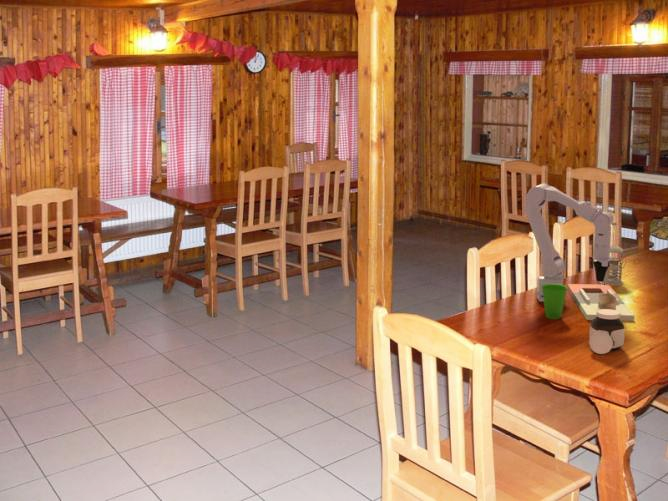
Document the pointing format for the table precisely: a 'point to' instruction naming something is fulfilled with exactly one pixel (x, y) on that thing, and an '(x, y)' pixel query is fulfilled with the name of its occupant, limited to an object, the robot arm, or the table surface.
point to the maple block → (607, 301)
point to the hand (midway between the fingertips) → (599, 281)
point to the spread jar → (606, 331)
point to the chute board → (596, 300)
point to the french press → (614, 266)
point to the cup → (554, 299)
